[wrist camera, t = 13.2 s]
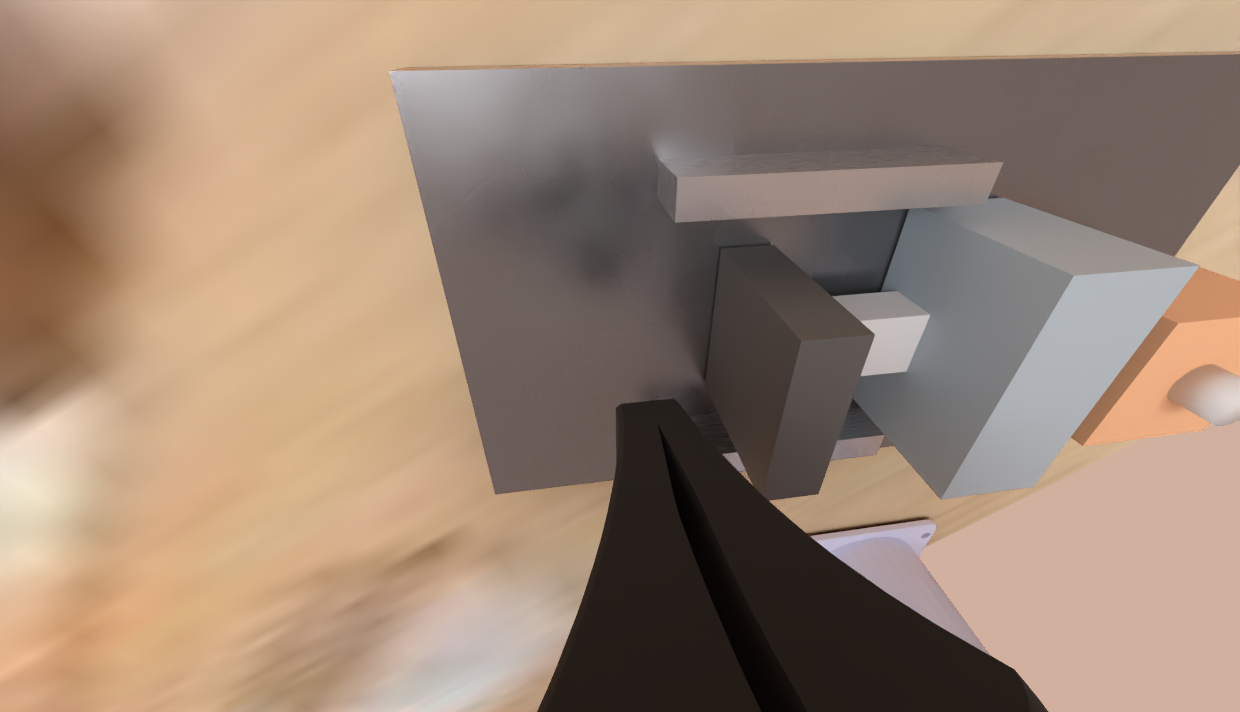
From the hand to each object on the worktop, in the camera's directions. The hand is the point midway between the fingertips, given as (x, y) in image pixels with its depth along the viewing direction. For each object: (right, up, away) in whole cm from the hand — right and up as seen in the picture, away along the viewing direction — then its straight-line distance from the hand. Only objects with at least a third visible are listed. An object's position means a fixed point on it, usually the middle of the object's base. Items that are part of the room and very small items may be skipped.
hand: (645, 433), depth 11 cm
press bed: (+6, +4, +6) cm, 10 cm away
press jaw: (+7, +3, +5) cm, 9 cm away
